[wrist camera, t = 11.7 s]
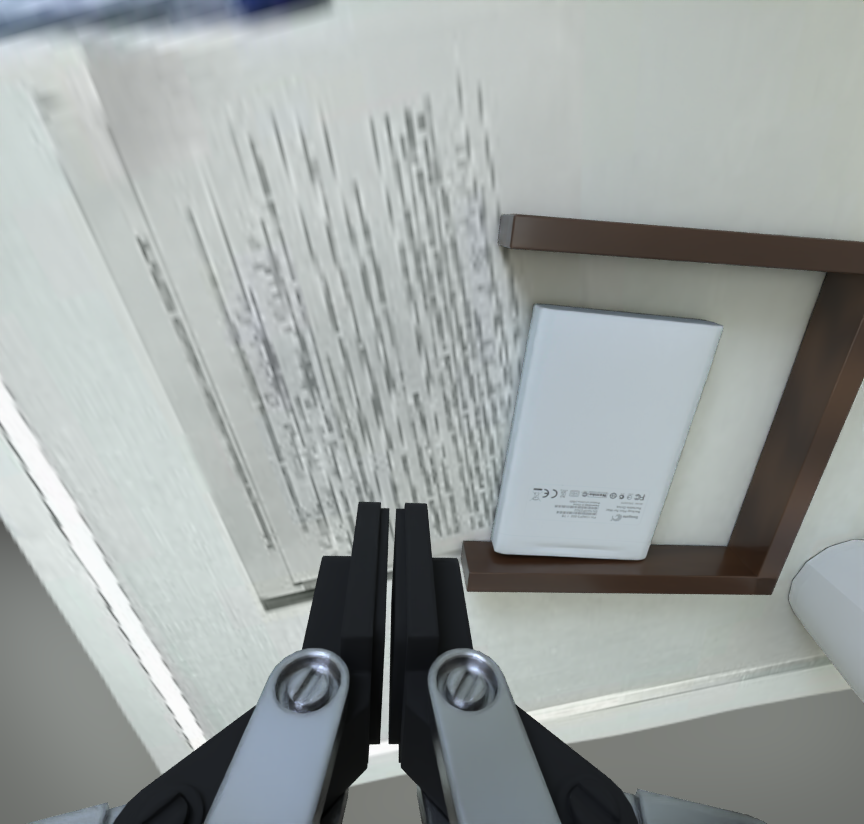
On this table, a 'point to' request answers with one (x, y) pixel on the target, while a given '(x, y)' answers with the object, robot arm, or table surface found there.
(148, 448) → the table surface
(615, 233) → the dock
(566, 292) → the table surface
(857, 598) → the foam cup
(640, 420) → the hard drive
